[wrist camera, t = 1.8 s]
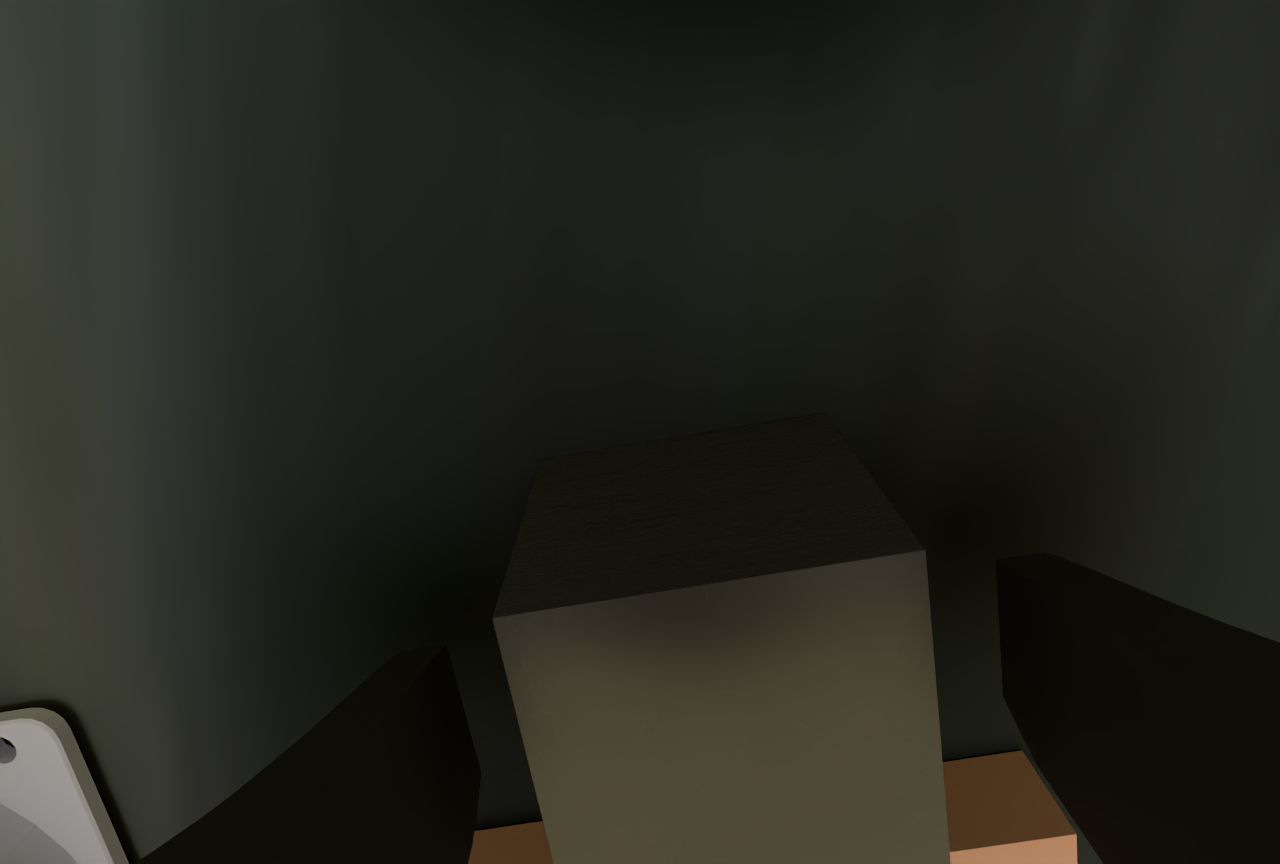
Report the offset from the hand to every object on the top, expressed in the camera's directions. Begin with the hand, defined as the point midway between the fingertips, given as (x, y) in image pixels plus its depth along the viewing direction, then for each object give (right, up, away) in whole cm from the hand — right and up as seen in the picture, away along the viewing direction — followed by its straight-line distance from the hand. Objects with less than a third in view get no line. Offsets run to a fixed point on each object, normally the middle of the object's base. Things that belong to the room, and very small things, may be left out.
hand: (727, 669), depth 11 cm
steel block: (0, +1, +3) cm, 3 cm away
